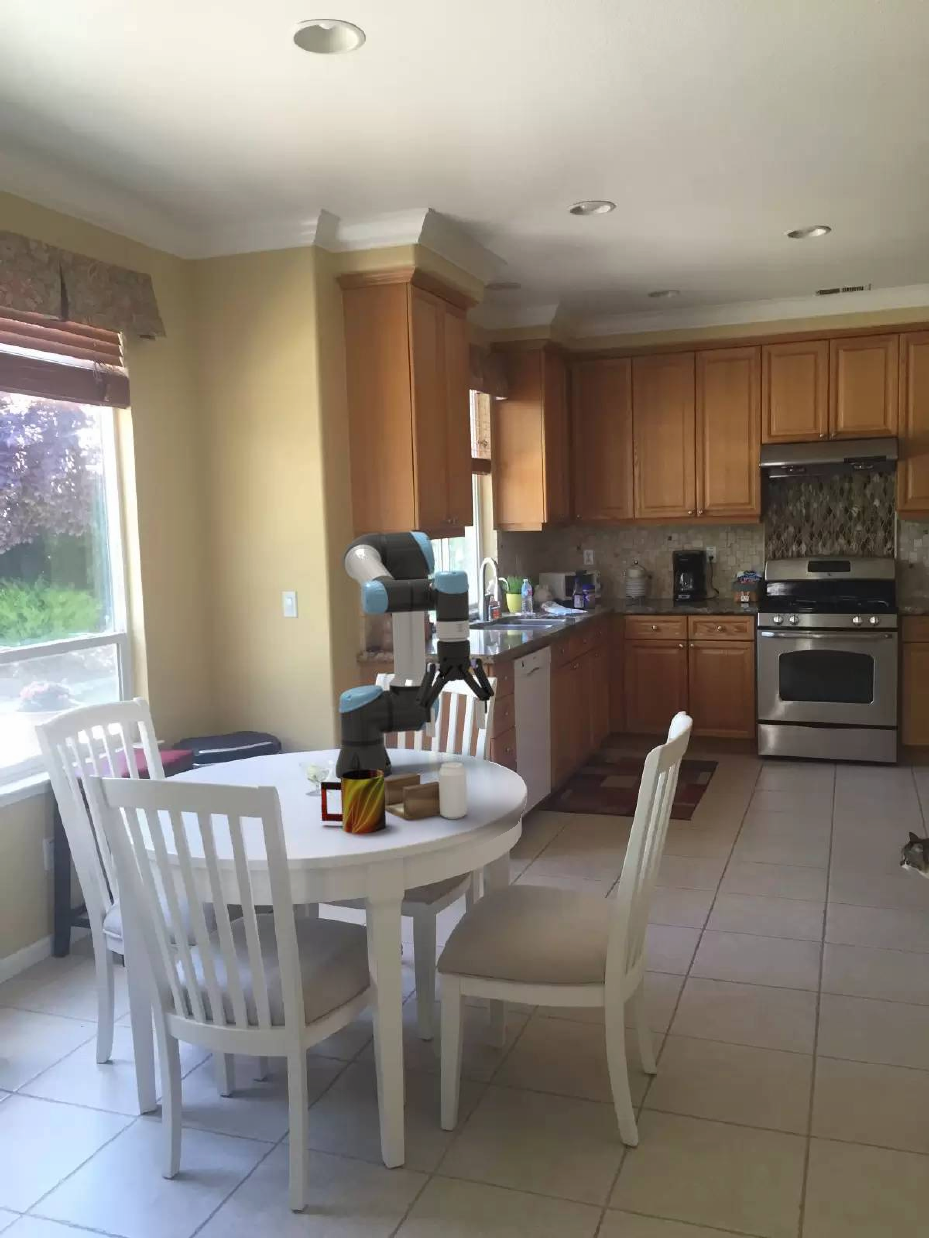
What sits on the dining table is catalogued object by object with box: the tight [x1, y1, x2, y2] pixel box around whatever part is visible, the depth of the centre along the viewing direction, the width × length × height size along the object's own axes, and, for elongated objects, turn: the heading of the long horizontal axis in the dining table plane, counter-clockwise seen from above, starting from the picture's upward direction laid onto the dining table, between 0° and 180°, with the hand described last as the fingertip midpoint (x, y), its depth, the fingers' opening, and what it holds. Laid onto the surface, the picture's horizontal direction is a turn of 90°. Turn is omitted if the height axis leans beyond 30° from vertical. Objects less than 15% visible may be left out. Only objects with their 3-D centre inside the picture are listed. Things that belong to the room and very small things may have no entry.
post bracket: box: [384, 773, 441, 821], centre depth 239 cm, size 13×10×7 cm
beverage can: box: [438, 761, 468, 820], centre depth 233 cm, size 6×6×12 cm
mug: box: [320, 769, 387, 835], centre depth 226 cm, size 10×14×12 cm
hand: (456, 732), depth 233 cm, fingers open, 13 cm apart
